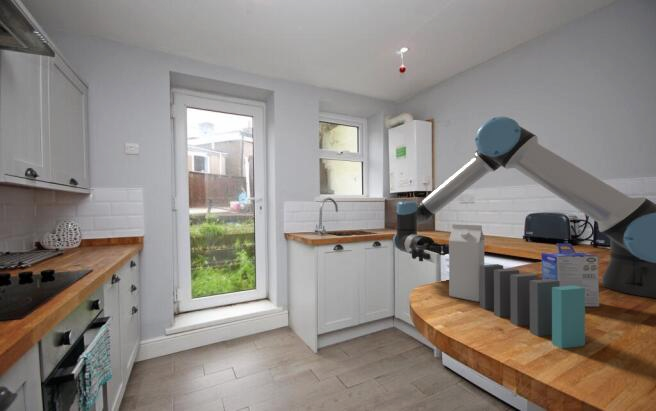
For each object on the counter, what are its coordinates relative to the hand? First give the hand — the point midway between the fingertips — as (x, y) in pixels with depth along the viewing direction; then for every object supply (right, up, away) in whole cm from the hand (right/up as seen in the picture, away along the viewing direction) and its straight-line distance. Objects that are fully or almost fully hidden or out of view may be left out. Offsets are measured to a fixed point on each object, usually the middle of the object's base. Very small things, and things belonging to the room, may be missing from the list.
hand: (460, 257), depth 74 cm
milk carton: (+1, -10, -2) cm, 10 cm away
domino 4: (+5, -10, -22) cm, 25 cm away
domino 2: (+3, -10, -14) cm, 18 cm away
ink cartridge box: (+23, -10, -7) cm, 26 cm away
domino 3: (+4, -10, -18) cm, 21 cm away
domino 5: (+6, -10, -27) cm, 29 cm away
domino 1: (+3, -10, -10) cm, 14 cm away
